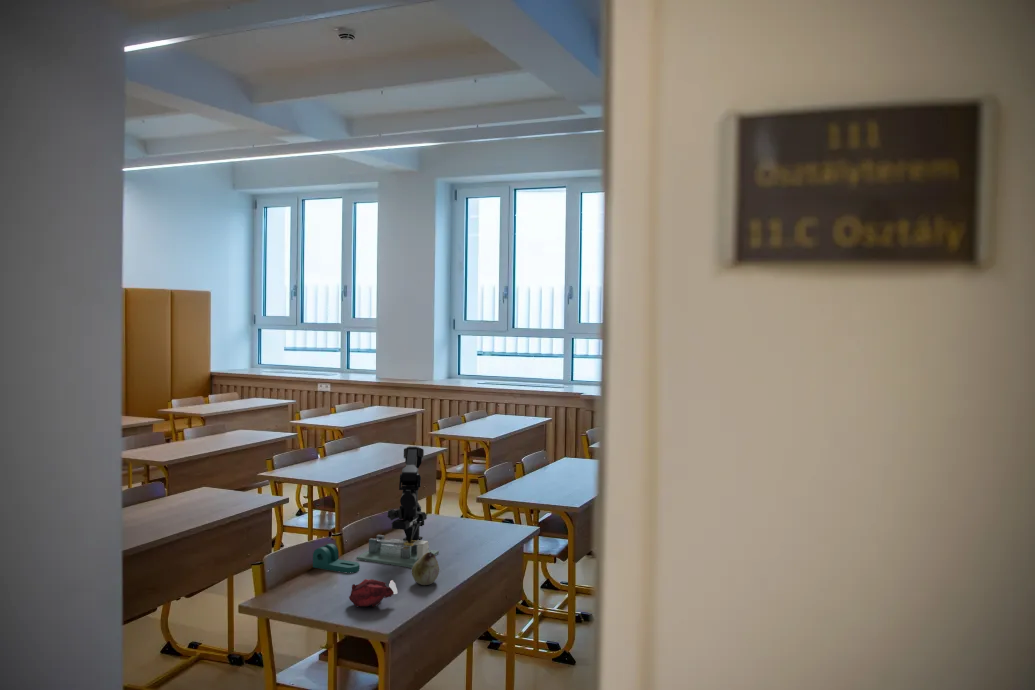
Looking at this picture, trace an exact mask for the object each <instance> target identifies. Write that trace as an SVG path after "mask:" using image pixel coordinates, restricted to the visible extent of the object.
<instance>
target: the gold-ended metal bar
mask: <svg viewBox="0 0 1035 690" xmlns="http://www.w3.org/2000/svg"><path fill="white" fill-rule="evenodd" d="M397 540H398V539H397ZM397 540H391V539H384V540H383V539H380V538H377V544H390V545H403V546H413V545H414V544H413V543H414V542H415V541H416V540H412V541H411V542H408V541H406V540H404V541H397Z"/></svg>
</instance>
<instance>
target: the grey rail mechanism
mask: <svg viewBox="0 0 1035 690" xmlns="http://www.w3.org/2000/svg"><path fill="white" fill-rule="evenodd" d="M375 536H376V538H372V537H371V538H369V539H368V551H369V553H373V554H375V553H377V549H379V550H381V552H380V555H381V556H388V557H395V558H402V557H403V559H409V558H410V552H411V553H412V554H417V546H418V545H413V546H403V545H390V544H377V538H380V539H383V540H385V535H384V534H383V535H382V534H377V535H375ZM390 540H397V541H405V540H403V539H396V538H391V539H390Z"/></svg>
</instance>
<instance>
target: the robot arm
mask: <svg viewBox="0 0 1035 690" xmlns="http://www.w3.org/2000/svg"><path fill="white" fill-rule="evenodd" d="M424 457H425V450H424V448H421V447H420V446H417V445H414V446H412V445H409V446H406V447H405V448H403V459H404V460H405V467H402V470H401V473H400V474H399V482H398V483H399V484H398V490H399V491H402V493H401V497H400V500H399V503H400V505H399V508H398V509H394V508H392V509H389V510H387V516H386V517H387V518H388V519H390V521H392V522H391V529H395V530H403V531H404V534H405V537H403V538H402V540H404V541H408V542H411V541H412V540H416V541H417V540H419V539H420V540H421V538H422V539H423V538H424V537H423V536H420V527H423V526H425V521H426V520H427V513H426V512H425V511H422V506H421V505H420V503H419V490H420V488H421V482H422V476H421V475H420V473H419V468H420V466H421V465H422V463H423V460H424V459H425V458H424Z"/></svg>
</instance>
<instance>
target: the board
mask: <svg viewBox="0 0 1035 690" xmlns="http://www.w3.org/2000/svg"><path fill="white" fill-rule="evenodd" d="M439 551H440V550H435V549H429V552H431V553H433V554H434V555H435V556H437V555H439V554H440V552H439ZM380 552H381V550H379V549H377V553H375V554H373V553H369V550H366V551H365V552H364V553H362V554H359V555H357V556H355V557H356V558H355V559H360V560H359V561H363V560H366V561H365V562H370V561H372V562H371V563H376V562H377V564H384V565H390V564H391V566H398V567H403V568H411V569H412V567H413V565H414V564H415V563H416V562H417V561H418V560H419V559H417V554H412V553H411V552H410V558H409V559H403V557H402V558H395V557H388V556H381V555H380ZM438 553H439V554H438ZM436 554H437V555H436Z"/></svg>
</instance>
